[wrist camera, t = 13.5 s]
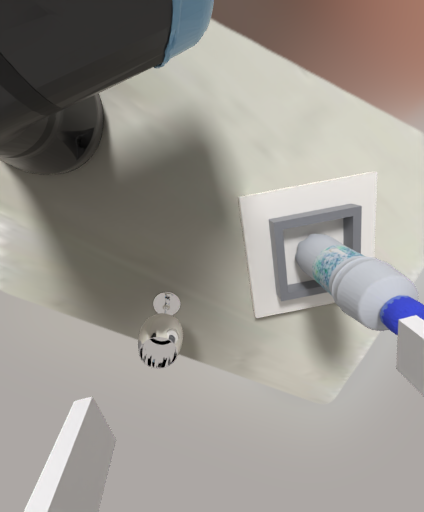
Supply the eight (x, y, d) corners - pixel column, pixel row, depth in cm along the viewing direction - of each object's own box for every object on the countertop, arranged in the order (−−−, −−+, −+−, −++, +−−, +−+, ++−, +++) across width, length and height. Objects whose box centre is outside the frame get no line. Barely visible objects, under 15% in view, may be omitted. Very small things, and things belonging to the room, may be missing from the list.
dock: (237, 196, 38) (242, 200, 34) (370, 171, 39) (390, 172, 35) (253, 313, 45) (259, 327, 41) (367, 291, 45) (383, 302, 41)
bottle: (334, 264, 41) (455, 346, 23) (293, 275, 41) (379, 367, 23) (330, 224, 39) (460, 278, 20) (287, 236, 39) (376, 301, 20)
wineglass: (142, 306, 43) (124, 357, 32) (163, 281, 42) (153, 324, 30) (170, 325, 44) (163, 379, 33) (191, 301, 43) (192, 349, 32)
